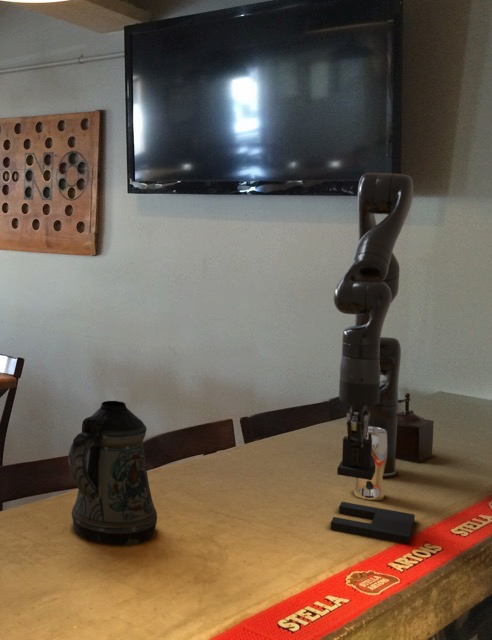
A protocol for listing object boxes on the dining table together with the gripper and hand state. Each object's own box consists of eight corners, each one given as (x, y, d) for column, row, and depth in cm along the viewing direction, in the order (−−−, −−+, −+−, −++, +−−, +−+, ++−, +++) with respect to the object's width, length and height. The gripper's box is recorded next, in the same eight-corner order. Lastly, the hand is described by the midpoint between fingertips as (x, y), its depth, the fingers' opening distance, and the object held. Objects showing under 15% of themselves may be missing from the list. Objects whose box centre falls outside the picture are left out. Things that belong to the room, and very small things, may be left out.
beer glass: (389, 502, 176) (391, 434, 176) (355, 499, 178) (357, 432, 177) (381, 492, 183) (383, 426, 183) (349, 489, 185) (351, 424, 184)
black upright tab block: (341, 467, 168) (342, 433, 168) (375, 472, 165) (376, 438, 165) (337, 474, 163) (338, 440, 162) (371, 480, 159) (372, 445, 159)
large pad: (341, 508, 172) (341, 501, 172) (414, 521, 165) (414, 514, 165) (330, 529, 160) (330, 521, 160) (408, 544, 153) (409, 536, 153)
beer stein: (162, 520, 163) (165, 397, 162) (145, 558, 144) (149, 419, 143) (83, 510, 168) (85, 390, 167) (57, 544, 150) (59, 411, 149)
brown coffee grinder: (435, 455, 214) (437, 387, 213) (418, 463, 206) (421, 393, 206) (375, 443, 225) (377, 379, 224) (358, 450, 218) (360, 383, 217)
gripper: (375, 386, 155) (372, 475, 156) (383, 375, 167) (380, 458, 168) (334, 382, 159) (331, 469, 160) (344, 371, 171) (342, 452, 172)
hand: (356, 463), depth 164 cm, fingers closed on black upright tab block, 2 cm apart
